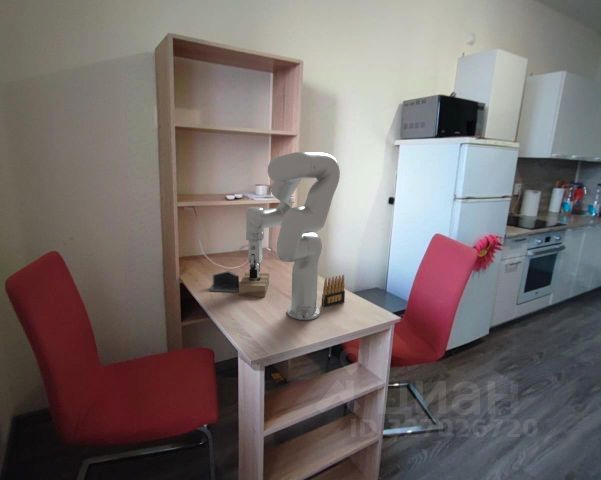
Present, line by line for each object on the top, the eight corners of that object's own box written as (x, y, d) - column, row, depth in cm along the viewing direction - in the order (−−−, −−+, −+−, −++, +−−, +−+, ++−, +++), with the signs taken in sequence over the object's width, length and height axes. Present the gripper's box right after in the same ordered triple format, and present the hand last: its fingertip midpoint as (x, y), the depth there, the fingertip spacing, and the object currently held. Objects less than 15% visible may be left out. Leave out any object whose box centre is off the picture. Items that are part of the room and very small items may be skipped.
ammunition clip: (341, 300, 149) (343, 273, 146) (344, 302, 148) (346, 274, 145) (321, 305, 143) (322, 277, 141) (324, 307, 142) (325, 279, 139)
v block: (209, 291, 154) (209, 278, 153) (215, 282, 164) (215, 270, 163) (237, 292, 154) (237, 279, 152) (241, 283, 164) (241, 271, 163)
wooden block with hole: (264, 297, 150) (265, 285, 149) (239, 296, 150) (238, 284, 149) (269, 283, 165) (269, 273, 164) (245, 282, 166) (245, 272, 164)
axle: (258, 291, 156) (258, 265, 153) (250, 290, 156) (250, 264, 153) (259, 288, 159) (259, 262, 157) (251, 287, 159) (251, 262, 157)
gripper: (261, 241, 143) (260, 282, 148) (266, 231, 160) (265, 269, 164) (242, 240, 143) (242, 281, 148) (249, 231, 160) (249, 268, 165)
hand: (254, 274), depth 156 cm, fingers open, 7 cm apart
